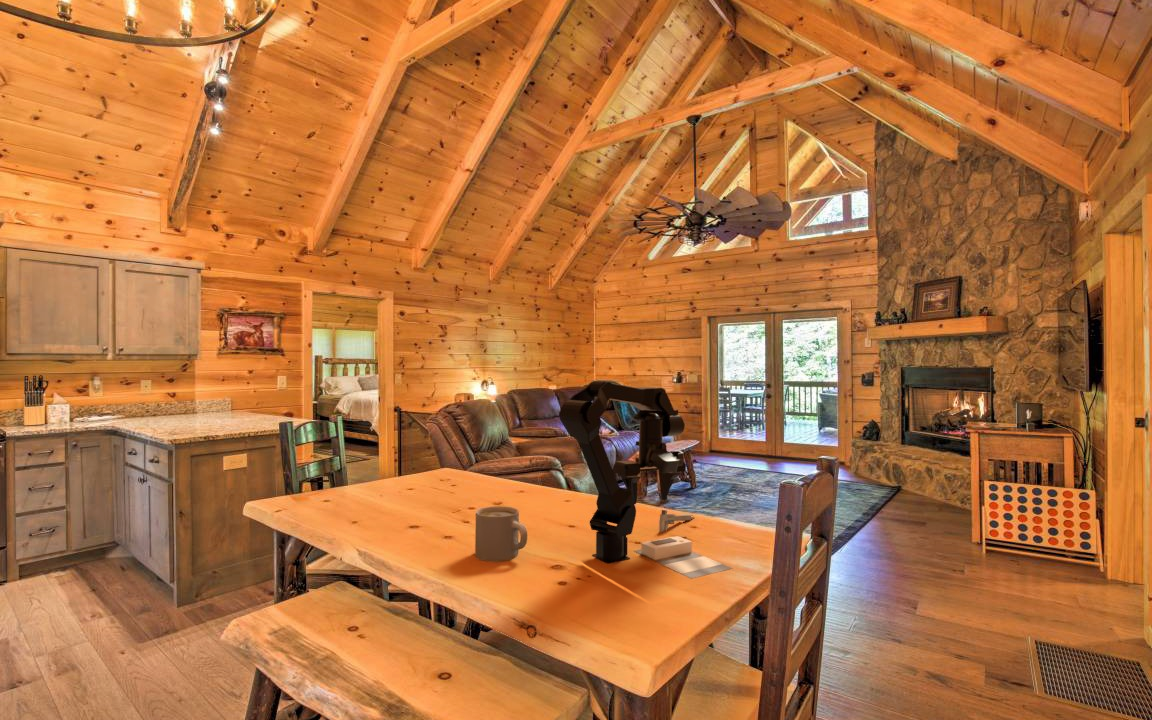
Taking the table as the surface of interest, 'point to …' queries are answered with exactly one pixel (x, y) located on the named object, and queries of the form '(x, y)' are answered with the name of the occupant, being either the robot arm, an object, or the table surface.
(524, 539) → the coffee mug
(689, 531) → the table surface
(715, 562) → the subfloor panel
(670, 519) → the caliper
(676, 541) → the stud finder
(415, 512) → the table surface
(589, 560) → the table surface
